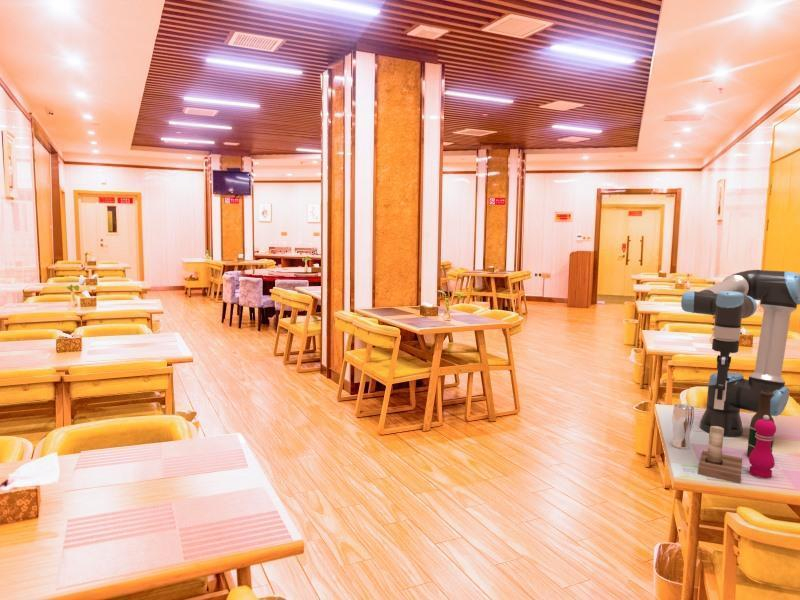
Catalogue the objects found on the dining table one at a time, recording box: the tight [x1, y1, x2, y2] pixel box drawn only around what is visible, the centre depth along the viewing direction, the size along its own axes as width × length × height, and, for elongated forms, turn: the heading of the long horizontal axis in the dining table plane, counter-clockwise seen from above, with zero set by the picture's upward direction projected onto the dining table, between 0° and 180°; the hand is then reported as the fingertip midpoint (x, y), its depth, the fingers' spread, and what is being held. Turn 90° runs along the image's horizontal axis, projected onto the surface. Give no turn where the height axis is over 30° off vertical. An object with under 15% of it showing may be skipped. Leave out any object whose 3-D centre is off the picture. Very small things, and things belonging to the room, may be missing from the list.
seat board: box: [697, 449, 743, 484], centre depth 193 cm, size 17×12×2 cm
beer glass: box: [671, 403, 695, 450], centre depth 213 cm, size 7×7×15 cm
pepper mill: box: [748, 415, 777, 479], centre depth 189 cm, size 7×7×20 cm
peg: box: [707, 426, 724, 465], centre depth 193 cm, size 4×4×14 cm
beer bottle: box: [746, 391, 776, 458], centre depth 203 cm, size 8×8×24 cm
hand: (719, 404), depth 191 cm, fingers open, 11 cm apart
